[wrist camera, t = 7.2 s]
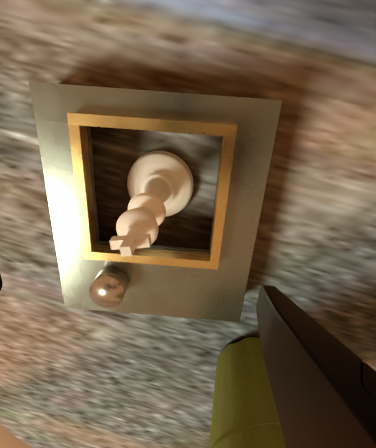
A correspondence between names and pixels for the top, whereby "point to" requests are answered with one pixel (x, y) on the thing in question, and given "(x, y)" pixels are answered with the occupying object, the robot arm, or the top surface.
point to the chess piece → (152, 199)
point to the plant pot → (244, 400)
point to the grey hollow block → (154, 255)
